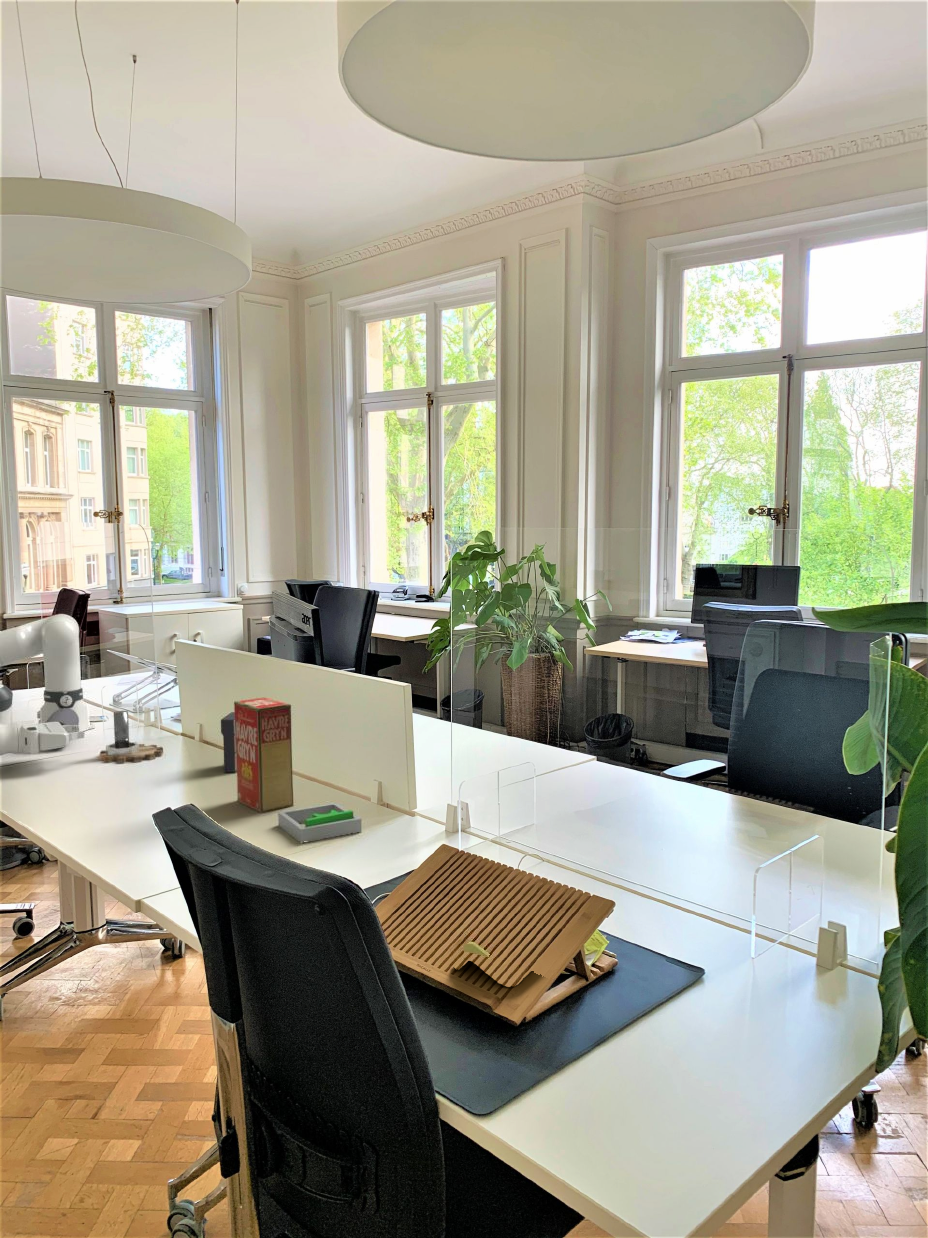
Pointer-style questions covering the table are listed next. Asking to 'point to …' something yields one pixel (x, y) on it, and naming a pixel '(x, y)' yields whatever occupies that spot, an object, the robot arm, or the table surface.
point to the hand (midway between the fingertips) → (81, 731)
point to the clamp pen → (316, 832)
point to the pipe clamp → (328, 817)
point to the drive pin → (121, 729)
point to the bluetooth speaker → (64, 717)
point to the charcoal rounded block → (229, 743)
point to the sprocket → (130, 753)
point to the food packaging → (264, 754)
